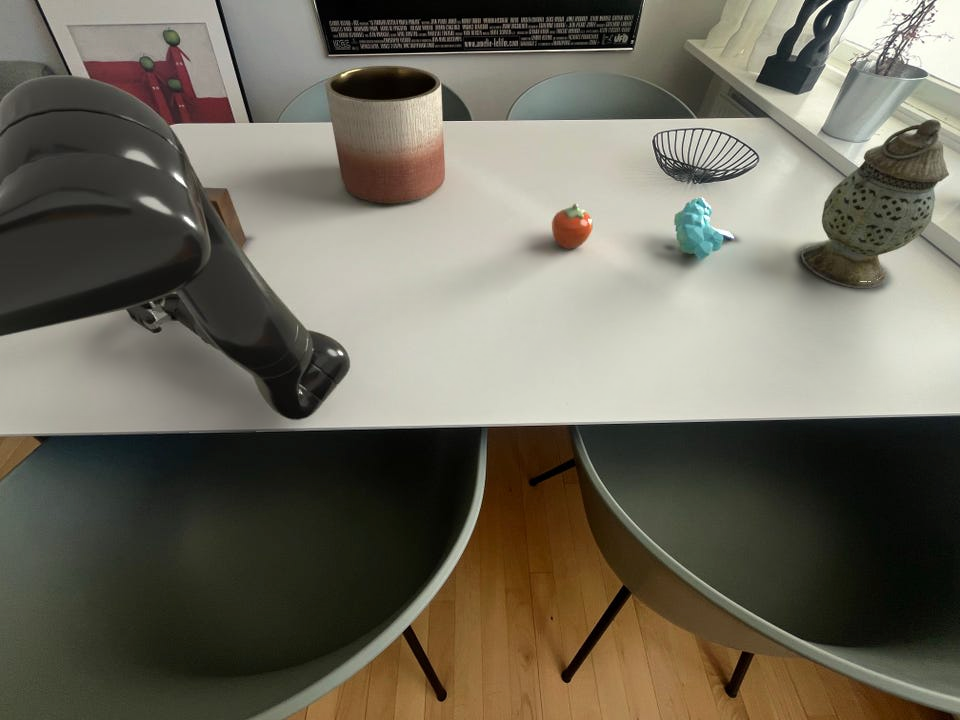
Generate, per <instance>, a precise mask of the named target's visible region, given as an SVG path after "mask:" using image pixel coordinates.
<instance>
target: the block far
mask: <svg viewBox="0 0 960 720" xmlns="http://www.w3.org/2000/svg"><path fill="white" fill-rule="evenodd" d="M203 188H204V190H205V192H206V193H207V195H208V197H209V199H210V201H211V203H212V204H213V206H214V207H215V209H216V211H217V212H218V214H219V216H220V217H221V219H222V220H223V222H224V224H225V225H226V227H227V228H228V230H229V231H230V233H231V234H232V236H233V237H234V239H235V240H236V242H237V243H238V245H239V246H240V248H241V249H242V247H243V246H244V244H245V242H246V241H247V237H246V235H245V231H244V230H243V227H242V224H241V221H240V219H239V216H238V213H237V211H236V208H235V205H234V203H233V200H232V198H231V194H230V192H229V189H228V188H227V187H204V186H203Z"/></svg>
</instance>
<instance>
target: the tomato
mask: <svg viewBox="0 0 960 720" xmlns="http://www.w3.org/2000/svg"><path fill="white" fill-rule="evenodd" d="M593 225H594V224H593V219H592V217H591V216H590V214H588V212H586V211H585V209H584V208H581V207H579V204H578V203H573V204H572V205H571V206H569V207H566V208H564V209H561V210H559V211H558V212H556V214H555V215H554V216H553V218H552V220H551V232H552V236H553V239H554V240H555V241H556V243H557V244H558V245H559V246H560V247H562V248H565V249H576V248H577V249H578V247H581V246H582V245H583V244H584V243H585V242H586V241H587V240H588V239H589V237H590V235H591V233H592V231H593Z"/></svg>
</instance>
